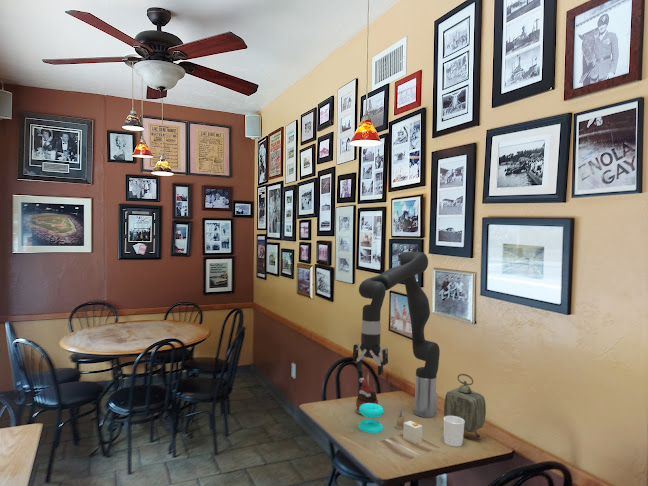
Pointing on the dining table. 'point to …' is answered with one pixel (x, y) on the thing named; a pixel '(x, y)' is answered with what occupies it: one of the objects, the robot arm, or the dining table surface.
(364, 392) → the cake
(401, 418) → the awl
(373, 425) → the donuts
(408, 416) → the dining table surface
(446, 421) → the white cup
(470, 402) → the tabletop clock
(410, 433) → the white block
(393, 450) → the board
